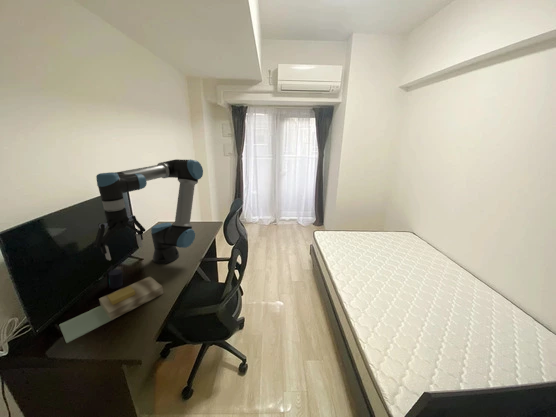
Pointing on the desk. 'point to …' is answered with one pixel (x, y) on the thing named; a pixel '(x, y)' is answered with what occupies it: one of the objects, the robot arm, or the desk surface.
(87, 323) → the mat
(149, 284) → the deck
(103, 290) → the desk surface
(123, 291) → the yellow flat block
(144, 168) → the robot arm
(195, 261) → the desk surface
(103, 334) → the desk surface
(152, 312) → the desk surface
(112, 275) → the speaker
